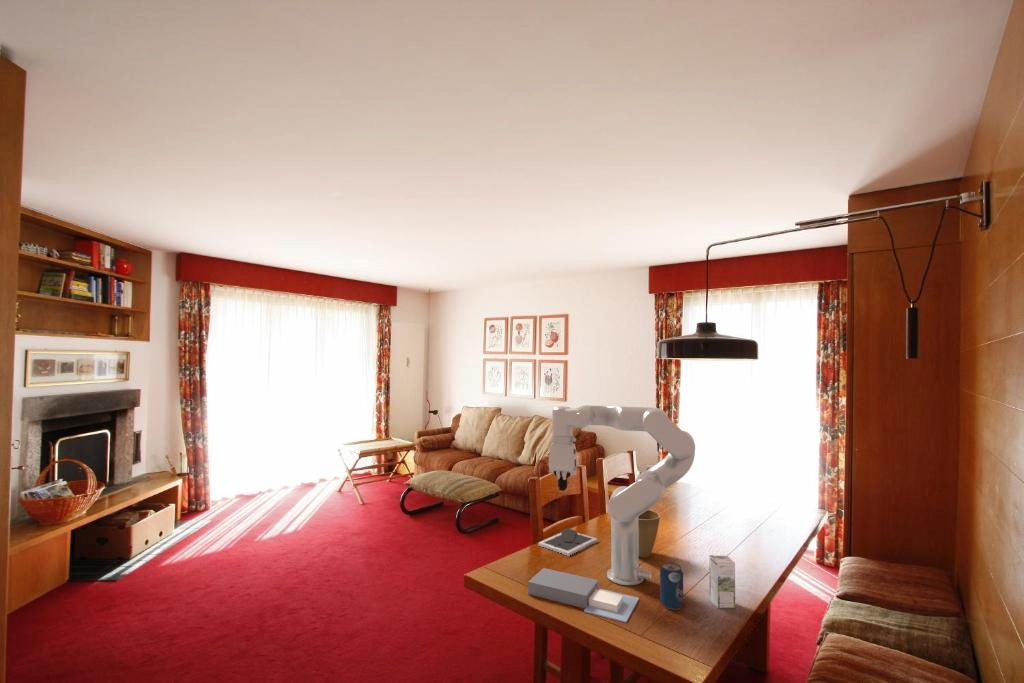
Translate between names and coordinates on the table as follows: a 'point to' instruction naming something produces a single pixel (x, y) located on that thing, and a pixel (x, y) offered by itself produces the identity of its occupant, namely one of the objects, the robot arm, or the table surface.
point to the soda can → (671, 586)
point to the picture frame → (568, 542)
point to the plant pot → (647, 532)
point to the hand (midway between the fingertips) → (562, 489)
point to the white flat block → (606, 600)
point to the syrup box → (722, 581)
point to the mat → (622, 613)
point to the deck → (562, 587)
